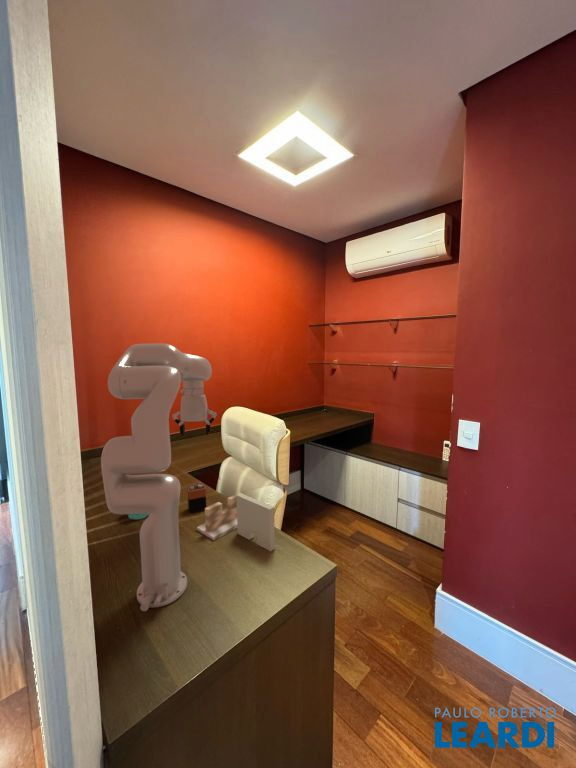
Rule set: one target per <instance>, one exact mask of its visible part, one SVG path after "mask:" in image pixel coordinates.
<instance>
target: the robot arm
mask: <svg viewBox="0 0 576 768" xmlns="http://www.w3.org/2000/svg"><path fill="white" fill-rule="evenodd" d="M212 374H213V369H212V365H211V363H210V362H209V360H208V359H207V358H206V357H202V356H198V355H194V354H189V353H184V352H182V351H181V350H179V349H178V348H177V347H175V346H174V345H171V344H169V343H135V344H132V345H131V346H129V347H128V348H126V350H125V351H124V352H123V353H122V355H120V357H119V359H118V360H117V361H116V363H115V364H114V366H113V367H112V368H111V371H110V372H109V374H108V379H107V387H108V388H107V389H108V391H109V393H110V395H112V396H113V397H114V398H117V399H121V400H138V399H139V400H142V402H141V403H140V404H139V405H138V406H137V408H136V409H135V411H134V412H133V414H132V416H131V418H130V419H131V420H130V425H131V427H130V428H131V435H124V436H115V437H113V438H110V439H109V440H108V441H107V442H106V443H105V445H104V447H103V449H102V453H101V457H100V467H101V475H102V482H103V489H104V497H105V501H106V505H107V508H108V511H110V512H111V513H112V514H114V515H128V514H139V513H141V514H149V516H147V517H146V519H145V520H144V521H143V523H142V524H141V526H140V529H139V549H140V562H141V563H140V565H141V580H142V582H141V583H140V584H139V585H138V588H137V590H136V600H137V602H138V603H139V604H140V607H139V609H140V610H141V611H142V612H146V611H148V610H149V608H160V607H164V606H166V605H167V606H168V605H169V604H171V603H174V602H175V601H176V600H177V599H179V598H180V597H181V596H182V595H183V594H184V593H185V591H186V589H187V587H188V578H187V577H188V576H187V575H186V574H185V573H184V572H183V571H182V570H181V567H182V566H181V549H180V530H179V529H180V528H179V509H180V508H179V506H180V496H181V482H180V480H179V479H178V477H176V476H175V475H173V474H170V473H168V474H167V473H163V472H164V471H167V470H168V469H169V467H170V465H171V463H172V447H171V446H172V445H171V435H170V433H171V432H170V424H169V423H170V421H169V420H170V419H169V418H170V413H171V410H172V407H173V404H174V402H175V400H176V398H177V395H178V393H180V394H183V395H182V396H181V400H180V410H179V411H177V412H175V413H173V414H172V415H171V416H172V418H173V420H174V422H175V423H176V424H177V425H178V426H179V433H180V434H181V437H183V436H184V435H185V434H186V427H185V424H184V423H187V422H205V424H206V425H205V434H206V435H208V436H209V434H210V433H211V424H212V423H213V422H214V420H215V419H216V417H217V416H218V414H217V412H215V411H213V410H211V409H209V408H208V401H207V397H206V394H205V393H204V382H206V381H209V380H210V379H211V377H212ZM182 382H183V384H182V385H183V389H180V388H181V383H182ZM179 415H180V418H178V416H179ZM209 415H211V418H210V419H209Z"/></svg>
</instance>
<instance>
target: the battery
mask: <svg viewBox="0 0 576 768" xmlns="http://www.w3.org/2000/svg"><path fill="white" fill-rule="evenodd" d="M186 491H187V506H188V507H187V508H188V512H189V514H190V513H196V512H197V513H198V512H201V511H205V508H206V507H207V493H206V492H207V489H206V487H205V485H204V484H203V483H199V484H198V485H191V486H189V487H187V489H186Z"/></svg>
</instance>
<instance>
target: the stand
mask: <svg viewBox="0 0 576 768" xmlns="http://www.w3.org/2000/svg"><path fill="white" fill-rule="evenodd" d="M240 493H241V492H237V493H235V494H234V495H231V496H229V497H227V508H225V509H223V503H222V502H220V501H217V502H215V503H213V504H210V505H208V506H206V508H205V510H204V517H205V518H204V520H205V522H204V523H203V524H201V525H198V526H196V531H197V532H199V533H201V534H202V535H204V536H205V537H207V538H208V539H210V540H211V541H216V540H217V539H219V538H221V537H223V536H225V535H227V534H228V533H231V532H233V531H234V530H236V529H238V527H237V495H238V494H240Z"/></svg>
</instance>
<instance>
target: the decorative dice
mask: <svg viewBox="0 0 576 768" xmlns="http://www.w3.org/2000/svg"><path fill="white" fill-rule="evenodd" d="M127 516H128V518H129V519H130V520H135V521H137V520H143V519H145V518H148V516H149V514H141V513H139V514H127Z"/></svg>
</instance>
